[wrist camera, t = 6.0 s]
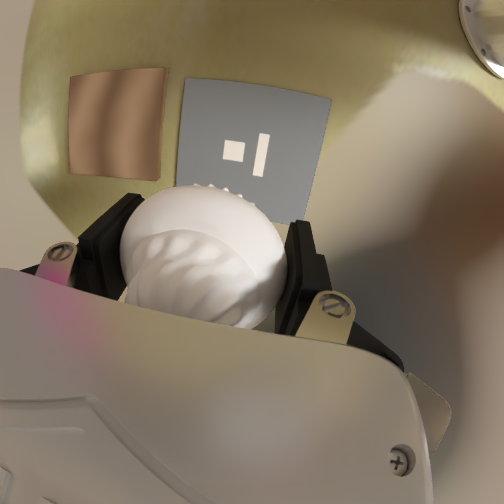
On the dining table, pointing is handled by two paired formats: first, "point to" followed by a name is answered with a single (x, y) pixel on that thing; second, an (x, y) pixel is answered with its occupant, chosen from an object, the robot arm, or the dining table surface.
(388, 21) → the dining table surface
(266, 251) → the muffin
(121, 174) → the walnut pad
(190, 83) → the tile
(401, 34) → the dining table surface
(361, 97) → the dining table surface
